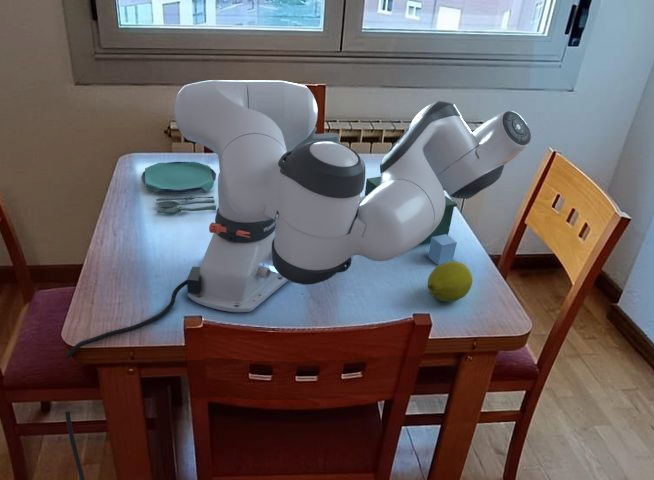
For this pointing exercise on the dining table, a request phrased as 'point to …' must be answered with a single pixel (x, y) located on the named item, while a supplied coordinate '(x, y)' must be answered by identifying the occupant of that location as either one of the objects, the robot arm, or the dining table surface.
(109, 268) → the dining table surface
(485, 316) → the dining table surface
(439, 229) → the bin
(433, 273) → the lemon
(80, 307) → the dining table surface
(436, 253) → the block
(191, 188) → the cutlery set
